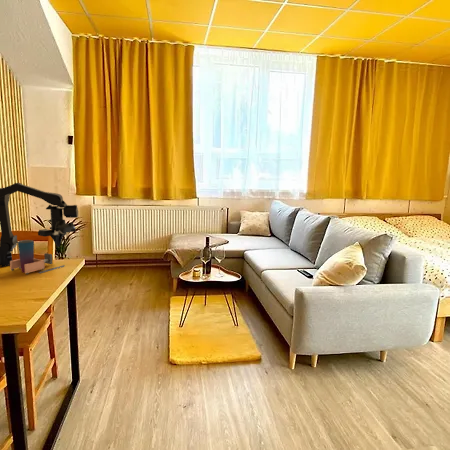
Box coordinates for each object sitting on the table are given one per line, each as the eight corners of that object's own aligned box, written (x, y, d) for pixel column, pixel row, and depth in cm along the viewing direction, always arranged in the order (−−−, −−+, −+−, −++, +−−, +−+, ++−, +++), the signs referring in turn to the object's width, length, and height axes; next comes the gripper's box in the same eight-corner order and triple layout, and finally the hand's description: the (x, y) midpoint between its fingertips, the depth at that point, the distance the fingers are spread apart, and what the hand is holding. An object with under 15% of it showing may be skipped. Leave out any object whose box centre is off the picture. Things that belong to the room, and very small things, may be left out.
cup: (38, 269, 166) (37, 240, 164) (29, 273, 160) (27, 243, 157) (25, 268, 167) (24, 239, 165) (16, 272, 160) (14, 242, 158)
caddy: (42, 262, 177) (41, 252, 176) (57, 266, 171) (57, 255, 170) (10, 270, 162) (9, 259, 161) (26, 274, 157) (25, 263, 156)
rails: (18, 268, 167) (18, 267, 167) (44, 261, 180) (44, 260, 180) (39, 273, 161) (39, 272, 160) (64, 266, 173) (64, 265, 173)
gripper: (51, 221, 163) (52, 252, 166) (82, 217, 180) (83, 245, 182) (36, 219, 168) (38, 249, 170) (68, 215, 184) (69, 242, 187)
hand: (58, 246), depth 177 cm, fingers closed
